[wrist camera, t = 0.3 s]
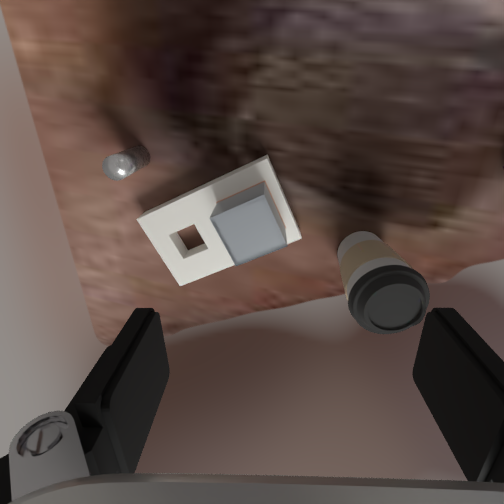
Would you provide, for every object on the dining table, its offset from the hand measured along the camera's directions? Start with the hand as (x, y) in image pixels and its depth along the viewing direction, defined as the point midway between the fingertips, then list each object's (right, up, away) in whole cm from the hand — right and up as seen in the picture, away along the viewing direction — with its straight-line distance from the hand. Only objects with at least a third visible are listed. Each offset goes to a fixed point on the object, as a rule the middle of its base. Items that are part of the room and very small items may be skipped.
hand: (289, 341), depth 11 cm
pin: (-17, +16, +32) cm, 40 cm away
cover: (-1, +8, +32) cm, 33 cm away
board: (-6, +8, +36) cm, 37 cm away
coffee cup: (+15, +3, +37) cm, 40 cm away
